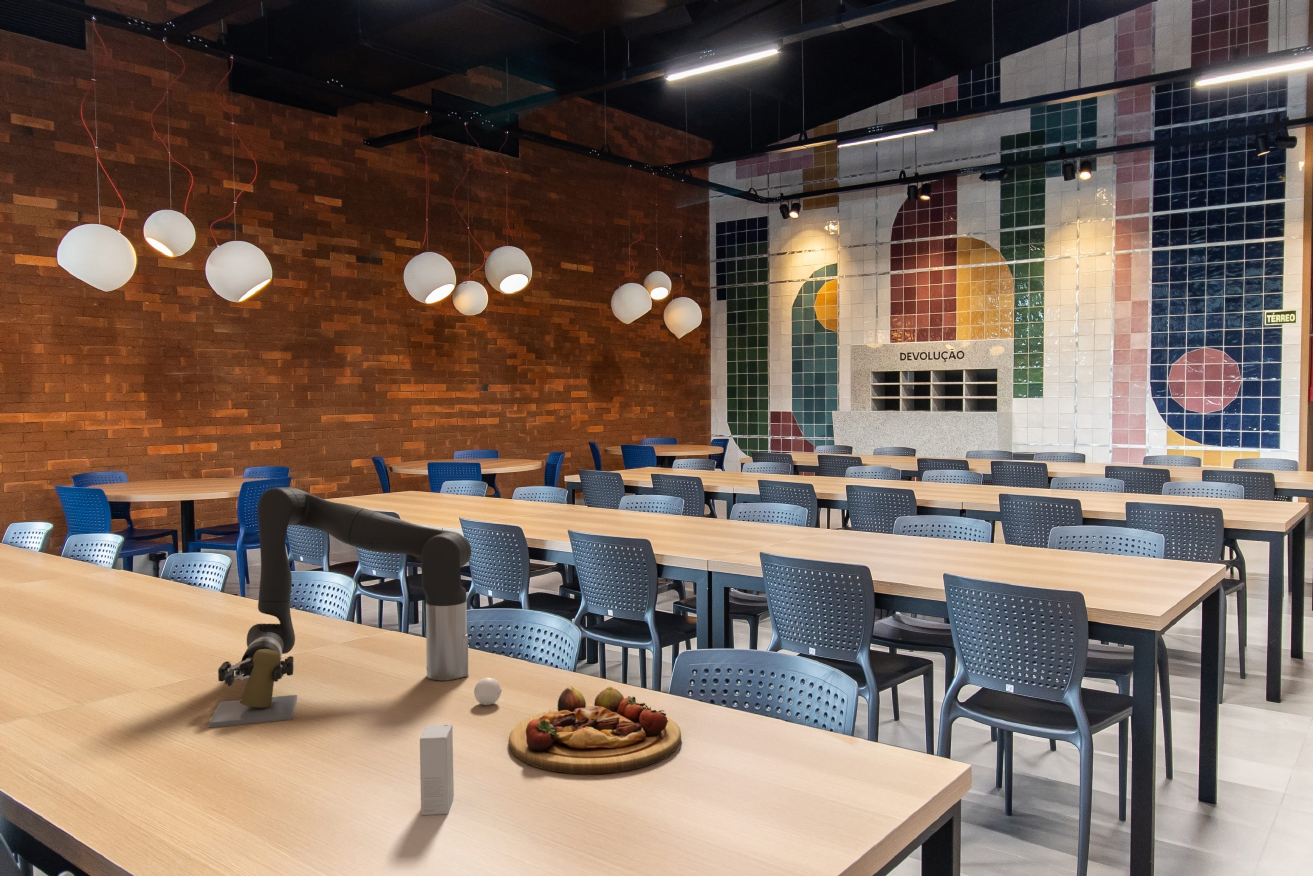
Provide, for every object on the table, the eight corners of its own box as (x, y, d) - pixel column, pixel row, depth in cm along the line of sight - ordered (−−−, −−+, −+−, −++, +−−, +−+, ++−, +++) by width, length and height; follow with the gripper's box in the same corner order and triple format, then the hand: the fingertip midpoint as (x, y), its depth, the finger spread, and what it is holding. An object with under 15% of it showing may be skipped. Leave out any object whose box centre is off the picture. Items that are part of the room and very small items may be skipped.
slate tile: (297, 699, 189) (297, 694, 189) (291, 719, 176) (291, 714, 176) (219, 706, 184) (219, 702, 184) (208, 727, 172) (208, 722, 172)
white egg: (495, 709, 182) (495, 682, 181) (469, 708, 183) (469, 681, 183) (509, 698, 189) (508, 672, 189) (484, 696, 190) (483, 670, 190)
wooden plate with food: (544, 793, 143) (543, 742, 142) (487, 730, 171) (486, 688, 171) (713, 757, 157) (713, 711, 157) (634, 704, 186) (634, 665, 185)
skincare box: (426, 798, 140) (426, 724, 139) (454, 797, 140) (453, 723, 140) (419, 816, 134) (418, 738, 133) (448, 815, 134) (447, 737, 134)
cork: (259, 708, 177) (272, 653, 178) (233, 702, 178) (246, 647, 180) (277, 705, 183) (290, 652, 184) (252, 699, 184) (265, 646, 185)
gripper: (226, 643, 191) (213, 663, 176) (297, 637, 196) (290, 657, 180) (227, 677, 191) (214, 700, 176) (297, 671, 196) (291, 693, 180)
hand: (252, 678), depth 178 cm, fingers open, 8 cm apart
